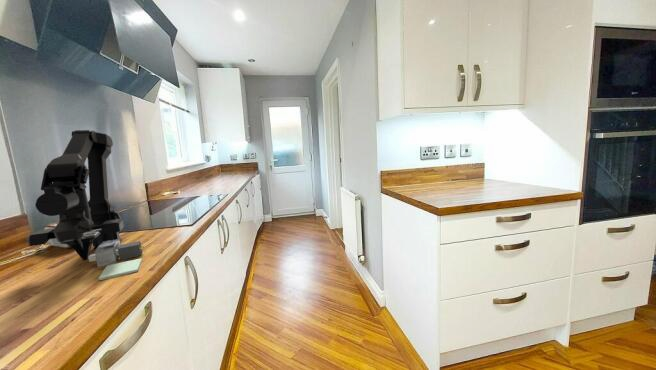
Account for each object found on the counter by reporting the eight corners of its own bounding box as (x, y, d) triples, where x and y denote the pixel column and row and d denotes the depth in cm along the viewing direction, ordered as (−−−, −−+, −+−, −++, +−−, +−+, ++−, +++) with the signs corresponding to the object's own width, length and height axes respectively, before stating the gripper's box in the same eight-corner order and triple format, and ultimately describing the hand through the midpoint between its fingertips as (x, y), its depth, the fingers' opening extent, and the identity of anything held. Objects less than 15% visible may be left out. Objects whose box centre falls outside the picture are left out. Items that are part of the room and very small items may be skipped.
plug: (145, 250, 81) (143, 240, 80) (143, 255, 78) (141, 243, 77) (93, 262, 75) (90, 250, 74) (89, 267, 72) (86, 255, 71)
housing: (122, 253, 80) (119, 238, 79) (116, 263, 73) (112, 247, 72) (105, 256, 78) (102, 241, 77) (97, 267, 71) (94, 250, 70)
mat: (142, 260, 74) (142, 258, 74) (137, 271, 68) (137, 269, 67) (107, 267, 71) (107, 265, 71) (99, 280, 64) (98, 278, 64)
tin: (82, 246, 88) (77, 223, 86) (70, 250, 85) (65, 226, 83) (56, 243, 93) (51, 221, 91) (44, 246, 90) (39, 223, 88)
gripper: (7, 220, 59) (23, 282, 61) (109, 207, 68) (120, 262, 70) (32, 210, 69) (45, 264, 71) (119, 200, 77) (128, 248, 80)
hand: (85, 259), depth 73 cm, fingers closed
